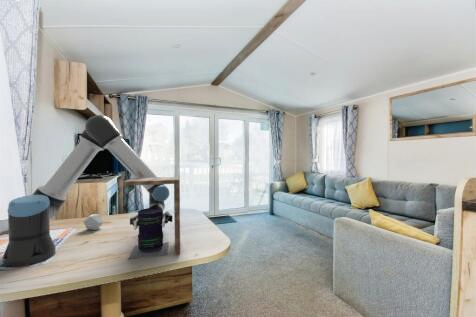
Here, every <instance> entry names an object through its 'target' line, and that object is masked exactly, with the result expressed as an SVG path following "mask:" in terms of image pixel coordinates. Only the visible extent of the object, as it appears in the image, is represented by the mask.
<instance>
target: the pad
mask: <svg viewBox="0 0 476 317" xmlns="http://www.w3.org/2000/svg"><path fill="white" fill-rule="evenodd" d="M138 246H139V245H138V244H136V245H134V246H133V248H132V250H131V252H130V254H129V256H128V257H127V260H135V259H143V258H144V259H145V258H153V257H162V256H167V255H168V250H169V242H168V241H166V242H164V241H163V246H162V247H161V248H159V249H156V250H152V251H141V250H139V249H138Z"/></svg>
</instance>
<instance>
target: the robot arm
mask: <svg viewBox="0 0 476 317" xmlns="http://www.w3.org/2000/svg"><path fill="white" fill-rule="evenodd" d="M84 128H85V129H84V130H83V131H82V132H81V134H80V135H79V139H80V141H79V142H78V143H77V145H76V146H75V147H74V148H73V150H72V151H71V152H70V154H69V155H68V156H67V157H66V158H65V159H64V161H63V162H62V164H61V165H60V166H59V167H58V168H57V170H56V171H55V173H54V174H53V175H52V176H51V177H50V179H49V180H48V181H47V182H46V184H45V185H42V186H38V187H37V188H36V189H35V191H34V192H33V193H32V194H30V195H24V196H20V197H16V198H13V199H11V201H9V202H8V206H7V207H8V208H7V216H8V218H7V220H8V243H7V244H6V248H5V251H4V253H3V256H2V262H1V264H2V263H3V265H6V266H18V267H22V266H21V265H24V266H28V264H29V265H32V264H36V263H40V262H43V261H45V260H47V259H49V258H51V257H53V256H54V255H56V251H57V250H56V245H55V242H54V240H53V238H52V237H51V234H50V233H51V232H50V230H51V229H50V225H51V224H50V222H51V219H52V218H53V217H55V216H56V215H57V214H58V213H59V211H60V209H61V207H62V206H63V205H64V203H65V202H66V201H67V196H66V195H67V193H68V192H69V190H70V189H71V188H72V187H73V185H74V184H75V182H77V180H78V178H79V177H81V175H82V174H83V172H84V171H85V169H86V168H87V167H88V166H89V164H90V163H91V162H92V160H93V159H94V158H95V156H96V155H97V154H98V153H99V152H100V151H104V150H108V151H109V153H111V155H113V157H115V158H116V160H117V161H119V162H120V164H121V165H122V166H123V167H124V168H125V169H126V170H127V171H128V172H129V173H130V174H131V175H132V176H133V178H156V177H158V176H157V175H156V174H155V173H154V172H153V171H152V169H151V168H150V167H149V166H148V165H147V163H145V162H144V160H143V159H141V158H140V156H139V155H138V154H137V153H136V152H135V151H134V149H133V148H132V147H131V146H130V145H129V144H128V143H127V142H126V141H125V139H123V134H122V133H121V132H120V130H119V129H118V128H117V126H116V125H115V123H114V122H113V121H112V119H111V118H110V117H108V116H106V115H102V114H97V115H93V116H90V117H89V118H88V119H87V121H86V122H85V126H84ZM141 186H142V187H143V188H144V189H145V190H146V192H148V196H149V198H148V199H149V200H148V208H161V209H163V212H162V213H163V220H162V229H163V228H165V226H166V224H168V223H169V222H170V223H172V222H173V215H172V214H171V213H170V211H165V212H164V210H165V206H166V204H165V201H167V200H168V198H169V196H170V190H169V187H167V185H166V184H155V185H141ZM130 225H132V227H133V230H134V231H136V230H137V229H138V228H139V226H138V214H136V215H134V216H132V217H130V218H129V226H130ZM3 265H2V266H3ZM6 266H5V267H6Z"/></svg>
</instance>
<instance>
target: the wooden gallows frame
mask: <svg viewBox="0 0 476 317" xmlns="http://www.w3.org/2000/svg"><path fill="white" fill-rule="evenodd" d="M155 184H164V185H173V189H174V190H173V195H174V196H173V206H174V207H173V211H174V212H173V213H174V255H175V256H176V255H181V216H180V215H181V210H180V209H181V207H180V205H181V204H180V202H181V201H180V200H181V198H180V197H181V196H180V194H181V190H180V176H161V177H158V176H157V177H156V178H135V177H131V178H129V179H126V180H124V181H123V194H125V195H126V194H129V193H131V192H132V191H133V190H135V189H136V186H142V185H155Z"/></svg>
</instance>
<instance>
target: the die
mask: <svg viewBox="0 0 476 317" xmlns="http://www.w3.org/2000/svg"><path fill="white" fill-rule="evenodd" d="M83 224H84V226H85V228H86V230H87V231H98V229H99V228H100V227H101V226H102V225H103V224H104V219H103V218H102V216H101V214H99V213H98V214H94V213H93V214H90V215H89V216H88V217H86V218H85V220H84V221H83Z"/></svg>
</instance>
